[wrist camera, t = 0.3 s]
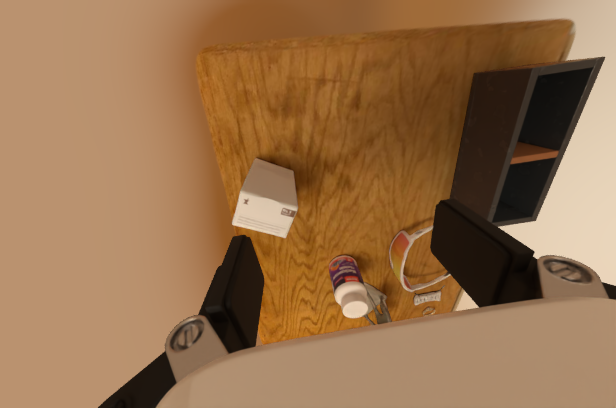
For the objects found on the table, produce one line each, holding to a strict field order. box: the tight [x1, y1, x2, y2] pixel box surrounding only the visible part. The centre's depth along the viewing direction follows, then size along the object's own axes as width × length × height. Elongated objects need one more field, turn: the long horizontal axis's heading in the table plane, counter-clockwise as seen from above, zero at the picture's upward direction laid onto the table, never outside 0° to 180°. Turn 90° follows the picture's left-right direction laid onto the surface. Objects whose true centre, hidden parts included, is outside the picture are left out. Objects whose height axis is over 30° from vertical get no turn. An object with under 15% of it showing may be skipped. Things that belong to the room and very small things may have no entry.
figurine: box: [362, 282, 392, 325], centre depth 41 cm, size 11×6×15 cm, turn 3°
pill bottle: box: [329, 255, 368, 318], centre depth 38 cm, size 5×5×10 cm
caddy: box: [450, 57, 605, 227], centre depth 29 cm, size 19×7×8 cm, turn 8°
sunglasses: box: [389, 225, 451, 292], centre depth 40 cm, size 14×15×5 cm
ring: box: [423, 307, 435, 316], centre depth 50 cm, size 3×1×3 cm
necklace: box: [414, 285, 445, 305], centre depth 47 cm, size 7×1×5 cm
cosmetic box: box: [232, 158, 298, 238], centre depth 27 cm, size 6×4×12 cm
